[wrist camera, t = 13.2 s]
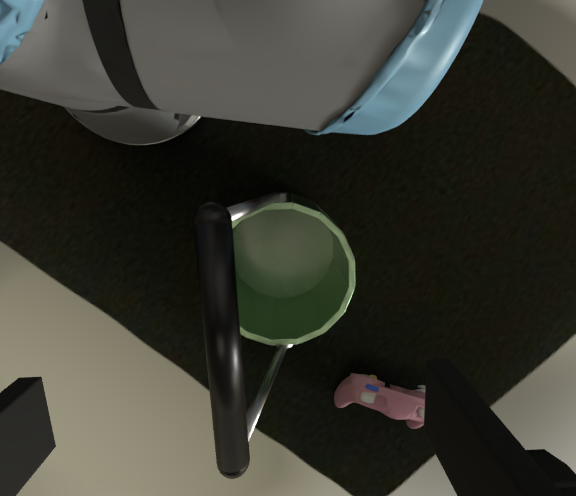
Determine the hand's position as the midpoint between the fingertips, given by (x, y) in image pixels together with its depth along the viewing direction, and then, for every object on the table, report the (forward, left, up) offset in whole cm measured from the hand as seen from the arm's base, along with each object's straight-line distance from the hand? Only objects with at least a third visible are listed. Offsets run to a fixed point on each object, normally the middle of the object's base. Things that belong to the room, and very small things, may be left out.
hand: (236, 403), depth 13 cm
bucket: (0, +1, -25) cm, 25 cm away
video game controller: (+16, +11, -26) cm, 32 cm away
